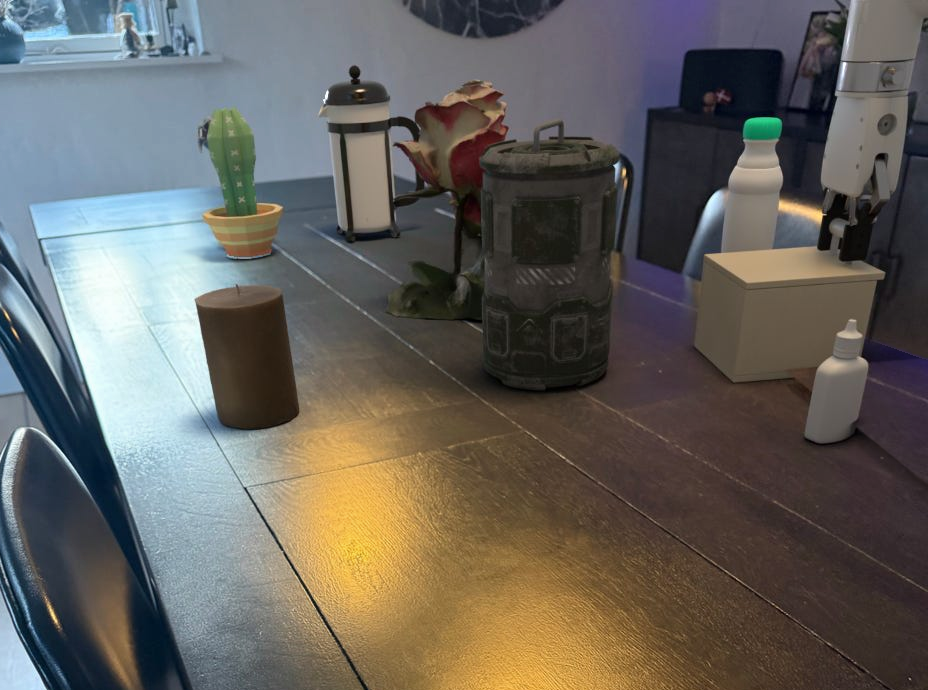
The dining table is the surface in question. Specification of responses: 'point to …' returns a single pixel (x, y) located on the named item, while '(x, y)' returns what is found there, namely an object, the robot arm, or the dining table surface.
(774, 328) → the beige open box
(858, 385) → the eye dropper bottle
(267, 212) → the potted cactus
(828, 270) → the lid
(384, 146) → the coffee press
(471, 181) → the red and cream rose
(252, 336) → the pillar candle
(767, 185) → the water bottle
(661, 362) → the dining table surface
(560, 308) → the canister
